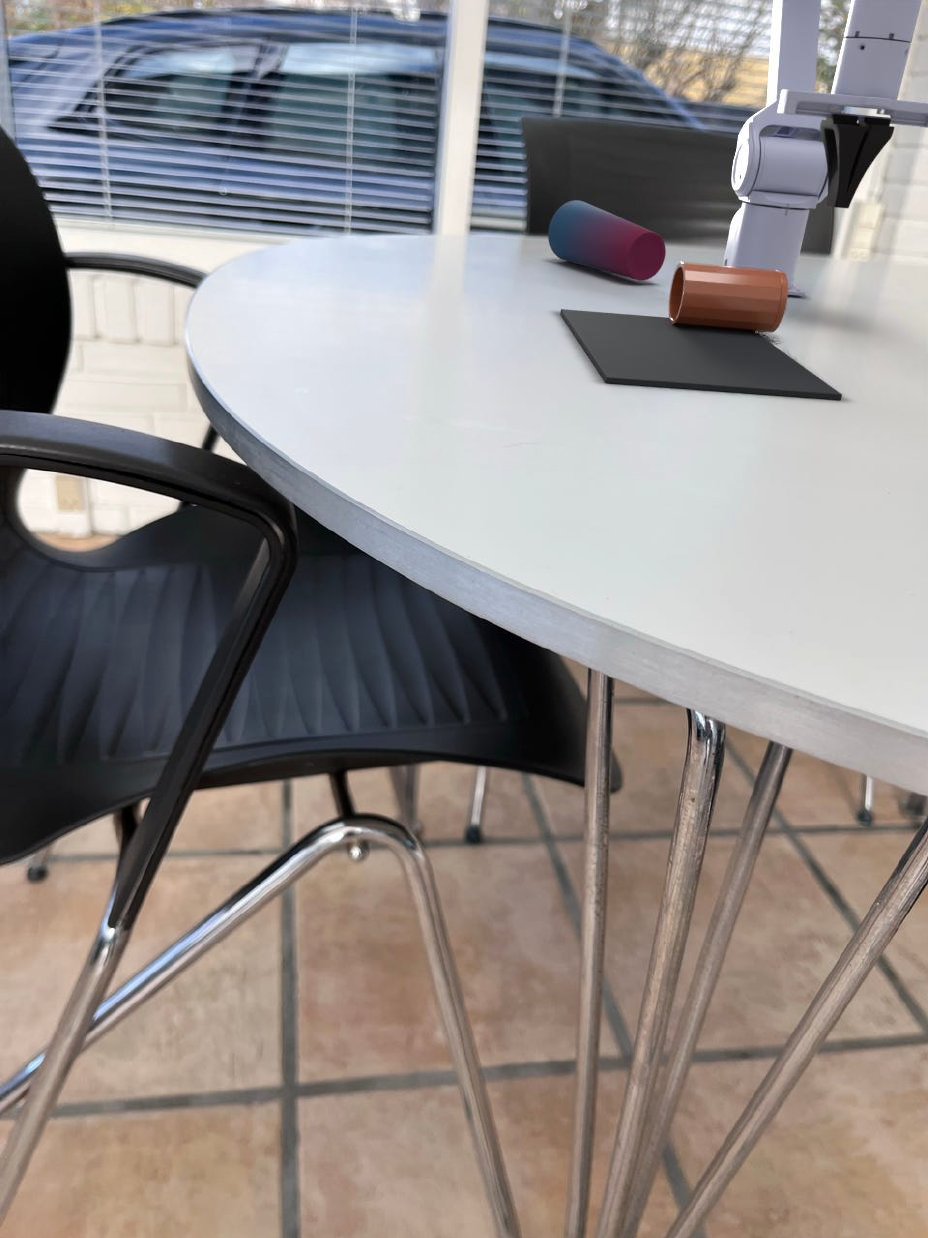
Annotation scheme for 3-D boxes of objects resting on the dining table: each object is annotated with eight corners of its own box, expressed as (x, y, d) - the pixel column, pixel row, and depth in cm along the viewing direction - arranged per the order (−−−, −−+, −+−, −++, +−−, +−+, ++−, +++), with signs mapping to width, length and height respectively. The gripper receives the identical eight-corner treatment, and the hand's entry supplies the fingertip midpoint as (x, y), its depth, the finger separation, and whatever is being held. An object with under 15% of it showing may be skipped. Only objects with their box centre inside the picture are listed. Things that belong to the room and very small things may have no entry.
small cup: (762, 325, 93) (665, 317, 93) (775, 266, 91) (675, 257, 90) (778, 338, 89) (677, 329, 88) (793, 276, 86) (688, 266, 86)
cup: (674, 278, 112) (599, 251, 124) (671, 215, 108) (594, 193, 120) (622, 296, 111) (551, 267, 122) (617, 232, 107) (544, 208, 118)
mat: (560, 313, 92) (560, 308, 92) (742, 327, 94) (743, 323, 94) (606, 382, 71) (606, 376, 71) (841, 399, 73) (842, 394, 72)
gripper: (813, 30, 86) (776, 204, 92) (978, 47, 87) (930, 218, 93) (785, 34, 92) (752, 196, 98) (939, 50, 93) (897, 209, 99)
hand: (837, 206), depth 96 cm, fingers closed
